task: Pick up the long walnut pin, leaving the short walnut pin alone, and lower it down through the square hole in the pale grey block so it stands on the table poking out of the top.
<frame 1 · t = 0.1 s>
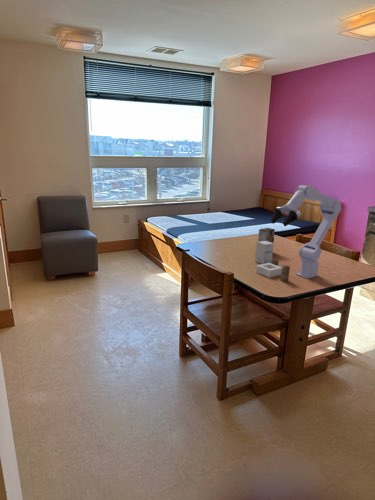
hand: (278, 223, 168), 32 cm above the table, tool tilted 50°, fingers open, 7 cm apart
coffee box: (264, 252, 234), on the table
supplement box: (263, 262, 213), on the table
short pin: (274, 267, 205), on the table
hole block: (268, 273, 194), on the table
long pin: (284, 280, 184), on the table
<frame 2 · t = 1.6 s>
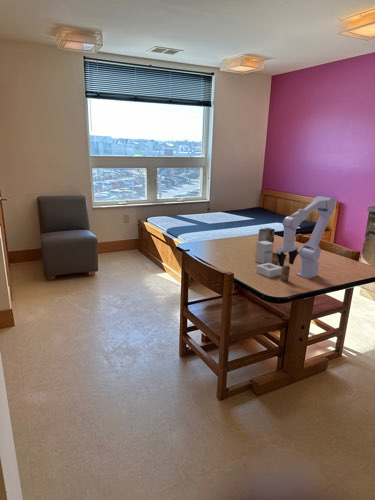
hand: (286, 265, 181), 9 cm above the table, tool pointing down, fingers open, 7 cm apart
nothing on the table moved.
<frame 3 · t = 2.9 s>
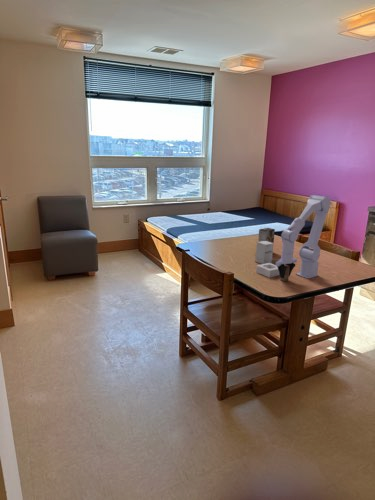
hand: (284, 276, 183), 2 cm above the table, tool pointing down, fingers closed on long pin, 4 cm apart
long pin: (284, 280, 184), on the table, touching gripper
everything else where it was.
when the fingers open (5 cm above the table, at t = 6.5 s): long pin drops 3 cm, resting in hole block.
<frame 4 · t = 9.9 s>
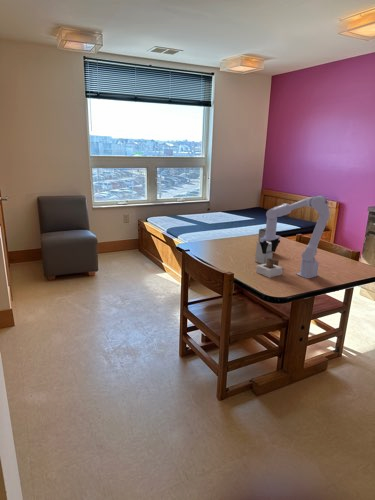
hand: (268, 252, 200), 9 cm above the table, tool pointing down, fingers open, 7 cm apart
long pin: (268, 273, 194), resting in hole block
everything else where it was.
at the end: long pin 0.0 cm off-centre on the hole block, point 0.0 cm above the hole block's base; long pin tilted 0°; short pin moved 0.1 cm from its start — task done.
